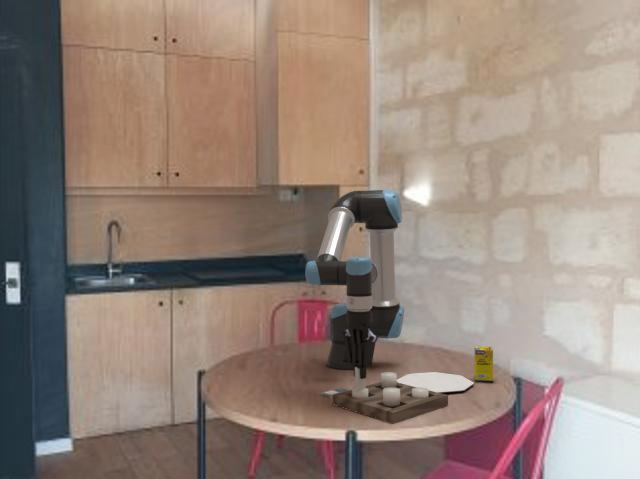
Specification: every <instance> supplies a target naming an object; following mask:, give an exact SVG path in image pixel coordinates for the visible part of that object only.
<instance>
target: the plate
mask: <svg viewBox="0 0 640 479" xmlns="http://www.w3.org/2000/svg"><path fill="white" fill-rule="evenodd" d="M397 383H401V384H405V385H409V386H413V387H422V388H427V389H428V390H429V391H433V392H437V393H441V394H447V393H458V392H459V393H462V392H465V391H466V390H467V389H469V388H470V387H472V386H474V382H473V381H472V380H470V379H468V378H466V377H465V376H463V375H460V374H453V373H443V372H435V371H431V372H417V373H407V374H405V375H404V376H401V377H400V378H398V379H397Z"/></svg>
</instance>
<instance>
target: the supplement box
mask: <svg viewBox="0 0 640 479" xmlns="http://www.w3.org/2000/svg"><path fill="white" fill-rule="evenodd" d="M473 357H474V377H473V378H474V379H473V380H474V382H475V383H484V384H485V383H486V384H487V383H489V384H490V383H491V384H492V383H494V349H493V346H474V356H473Z"/></svg>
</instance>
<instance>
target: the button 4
mask: <svg viewBox="0 0 640 479" xmlns="http://www.w3.org/2000/svg"><path fill="white" fill-rule="evenodd" d="M412 397H414V398H418V399H421V400H422V399H425V398H428V389H427V388H422V387H417V388H413V389H412Z"/></svg>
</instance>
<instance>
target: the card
mask: <svg viewBox="0 0 640 479" xmlns="http://www.w3.org/2000/svg"><path fill="white" fill-rule="evenodd" d="M349 390H350V389H348V388H345V387H338V388H334V389H329V390H326V391H322V392H320V395H321V394H323V395H325V396H324V397H327V396H329V397H328V398H330V397H332V398H331V399H333V395H334V394H338V393H341V392H345V391H349ZM323 395H322V396H323Z"/></svg>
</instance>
